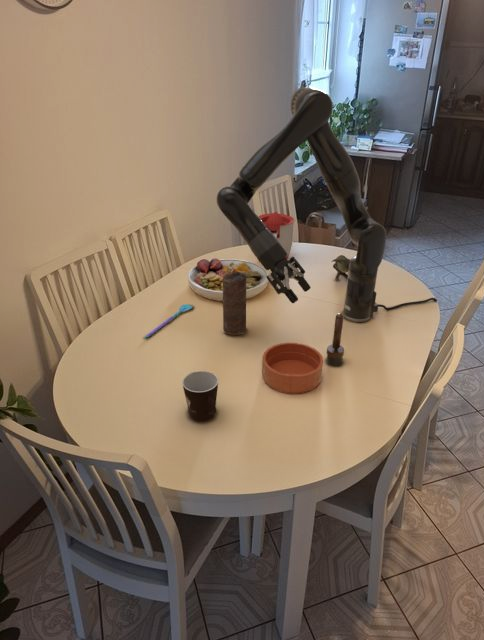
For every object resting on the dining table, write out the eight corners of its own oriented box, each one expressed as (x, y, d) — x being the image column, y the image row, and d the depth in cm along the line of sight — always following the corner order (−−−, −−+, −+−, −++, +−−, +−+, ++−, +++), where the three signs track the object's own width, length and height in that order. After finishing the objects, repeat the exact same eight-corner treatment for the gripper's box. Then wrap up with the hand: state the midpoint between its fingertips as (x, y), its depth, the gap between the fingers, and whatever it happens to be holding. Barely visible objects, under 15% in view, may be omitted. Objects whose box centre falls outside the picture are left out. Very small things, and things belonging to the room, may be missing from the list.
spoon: (185, 304, 172) (185, 301, 171) (195, 306, 171) (195, 303, 170) (144, 338, 152) (144, 335, 152) (156, 341, 151) (155, 337, 150)
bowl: (283, 282, 189) (283, 263, 185) (238, 313, 168) (238, 292, 163) (220, 264, 202) (219, 246, 198) (171, 291, 181) (170, 271, 177)
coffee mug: (185, 402, 126) (183, 371, 121) (219, 401, 127) (218, 370, 122) (183, 433, 117) (180, 401, 111) (219, 432, 117) (218, 399, 112)
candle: (243, 339, 153) (243, 281, 142) (220, 336, 154) (218, 278, 144) (248, 327, 160) (249, 270, 149) (226, 324, 161) (225, 268, 150)
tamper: (338, 356, 147) (344, 308, 138) (345, 365, 143) (352, 317, 134) (322, 358, 145) (328, 310, 137) (329, 367, 141) (335, 319, 133)
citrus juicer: (251, 265, 203) (252, 217, 192) (259, 249, 217) (259, 204, 206) (289, 268, 201) (292, 220, 190) (294, 252, 215) (296, 207, 204)
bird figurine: (341, 264, 203) (336, 232, 186) (363, 270, 199) (361, 237, 182) (328, 290, 198) (322, 259, 181) (351, 296, 194) (347, 265, 177)
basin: (308, 356, 146) (309, 339, 143) (330, 388, 133) (333, 370, 130) (255, 364, 142) (255, 346, 139) (272, 399, 129) (273, 380, 125)
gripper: (264, 250, 129) (300, 299, 131) (287, 234, 139) (321, 280, 141) (246, 264, 134) (282, 312, 135) (270, 248, 144) (303, 292, 146)
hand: (302, 295), depth 138 cm, fingers open, 8 cm apart
